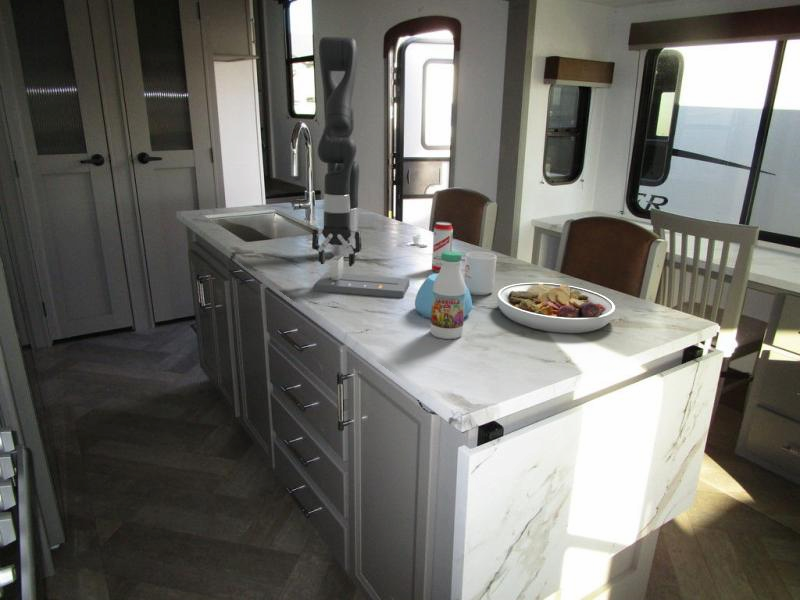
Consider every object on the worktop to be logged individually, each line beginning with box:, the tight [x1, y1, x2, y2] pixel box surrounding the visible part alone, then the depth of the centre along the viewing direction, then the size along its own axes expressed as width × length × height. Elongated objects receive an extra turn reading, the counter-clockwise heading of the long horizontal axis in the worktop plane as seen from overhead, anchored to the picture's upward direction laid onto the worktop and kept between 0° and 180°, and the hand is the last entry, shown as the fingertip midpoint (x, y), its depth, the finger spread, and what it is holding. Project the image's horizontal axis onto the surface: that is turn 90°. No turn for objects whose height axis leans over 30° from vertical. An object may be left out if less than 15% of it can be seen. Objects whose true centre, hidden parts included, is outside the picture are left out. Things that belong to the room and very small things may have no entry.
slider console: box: [313, 271, 411, 299], centre depth 169 cm, size 13×26×2 cm, turn 81°
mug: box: [463, 251, 498, 296], centre depth 170 cm, size 12×9×11 cm
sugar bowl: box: [414, 273, 473, 320], centre depth 149 cm, size 15×15×12 cm
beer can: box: [431, 221, 454, 273], centre depth 189 cm, size 6×6×16 cm
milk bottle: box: [429, 250, 465, 340], centre depth 134 cm, size 8×8×20 cm
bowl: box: [497, 282, 616, 334], centre depth 151 cm, size 30×30×8 cm
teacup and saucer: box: [406, 234, 428, 248], centre depth 225 cm, size 9×8×4 cm
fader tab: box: [329, 255, 344, 281], centre depth 169 cm, size 6×2×6 cm, turn 171°
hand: (336, 264), depth 168 cm, fingers open, 8 cm apart
